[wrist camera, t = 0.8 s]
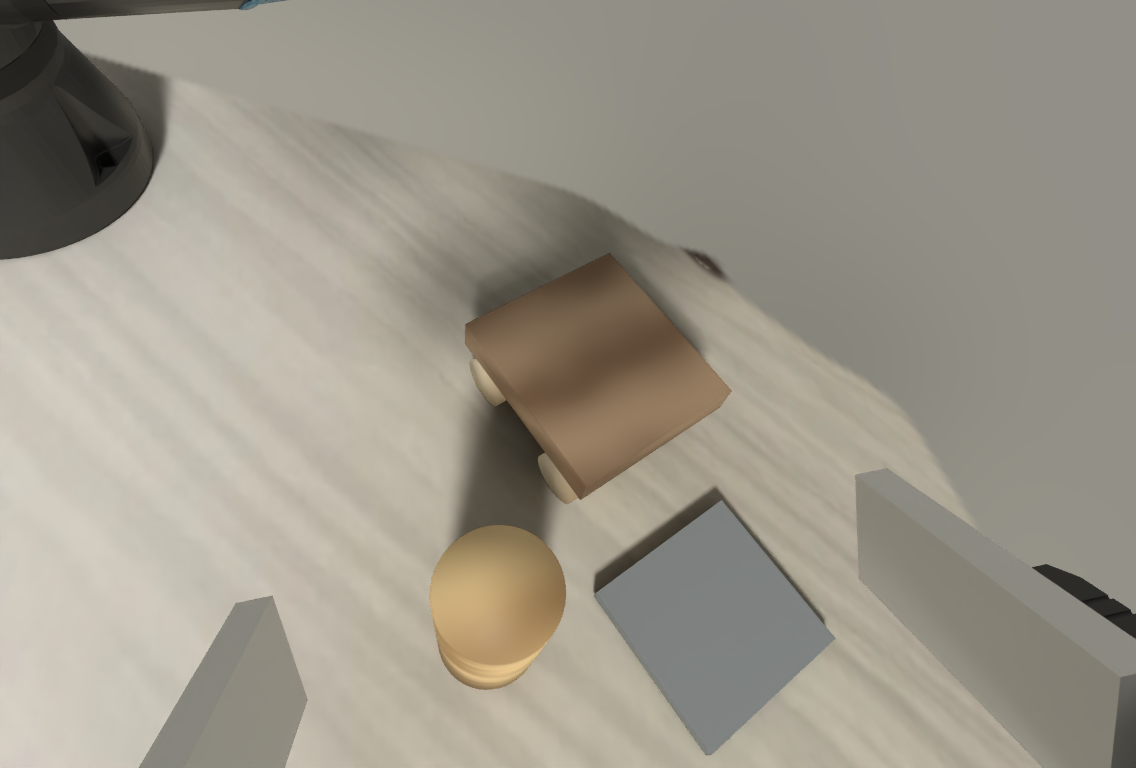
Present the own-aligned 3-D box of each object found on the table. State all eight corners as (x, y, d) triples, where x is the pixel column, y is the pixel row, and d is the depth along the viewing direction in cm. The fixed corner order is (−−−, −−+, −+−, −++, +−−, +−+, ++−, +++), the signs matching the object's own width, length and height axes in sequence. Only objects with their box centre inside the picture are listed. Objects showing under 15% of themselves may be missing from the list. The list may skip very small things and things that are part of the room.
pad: (593, 595, 35) (596, 592, 34) (716, 504, 38) (721, 499, 38) (705, 755, 32) (711, 755, 31) (828, 640, 36) (835, 638, 35)
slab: (464, 370, 40) (465, 324, 36) (595, 302, 44) (609, 252, 40) (571, 518, 37) (586, 486, 32) (703, 429, 41) (731, 390, 36)
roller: (418, 621, 33) (403, 573, 25) (503, 564, 35) (517, 501, 26) (472, 712, 32) (477, 695, 23) (558, 647, 33) (592, 608, 25)
